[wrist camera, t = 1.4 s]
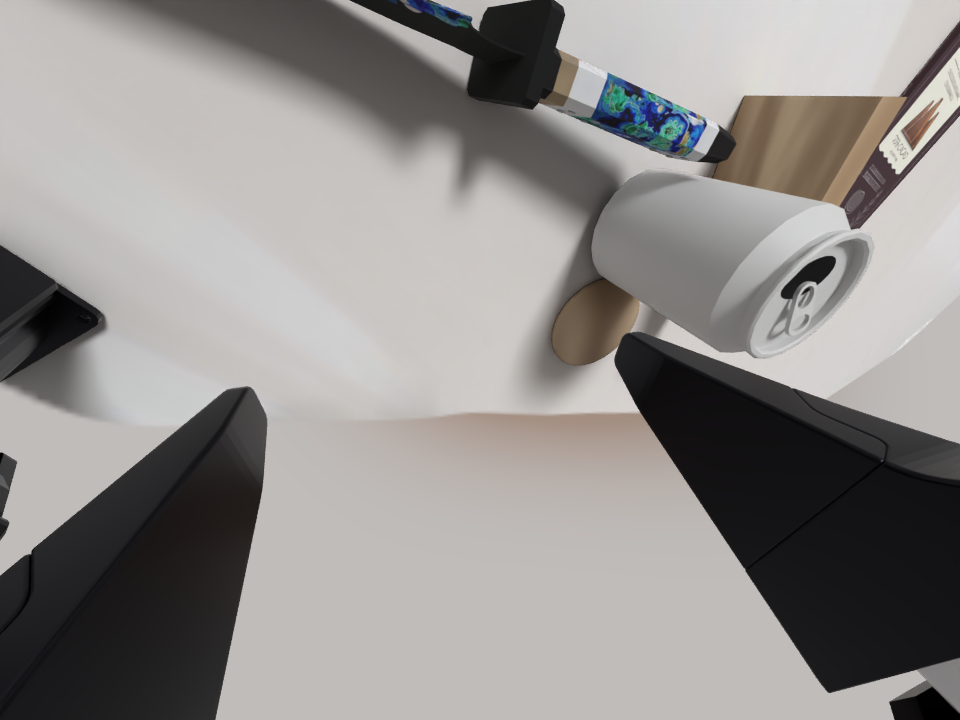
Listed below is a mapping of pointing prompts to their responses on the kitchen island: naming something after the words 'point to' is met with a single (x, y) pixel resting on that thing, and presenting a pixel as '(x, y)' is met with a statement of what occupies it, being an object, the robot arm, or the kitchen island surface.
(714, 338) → the can
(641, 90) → the knife
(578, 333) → the coaster
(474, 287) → the kitchen island surface
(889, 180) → the chocolate bar
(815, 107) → the plinth board
